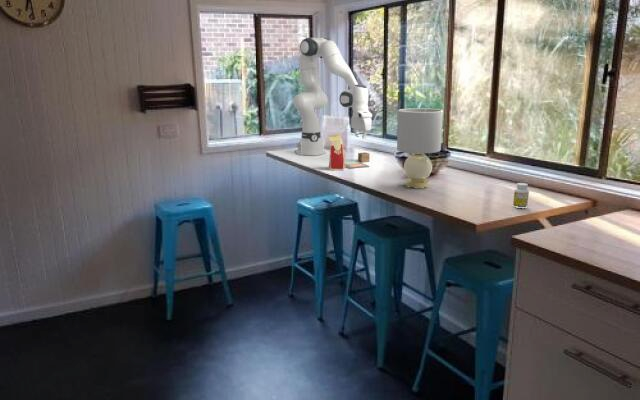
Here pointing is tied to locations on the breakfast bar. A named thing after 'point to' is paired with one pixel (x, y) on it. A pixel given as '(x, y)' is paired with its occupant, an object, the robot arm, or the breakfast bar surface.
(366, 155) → the brown wooden cube
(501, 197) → the breakfast bar surface
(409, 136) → the lamp
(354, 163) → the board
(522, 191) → the supplement bottle
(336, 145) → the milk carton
